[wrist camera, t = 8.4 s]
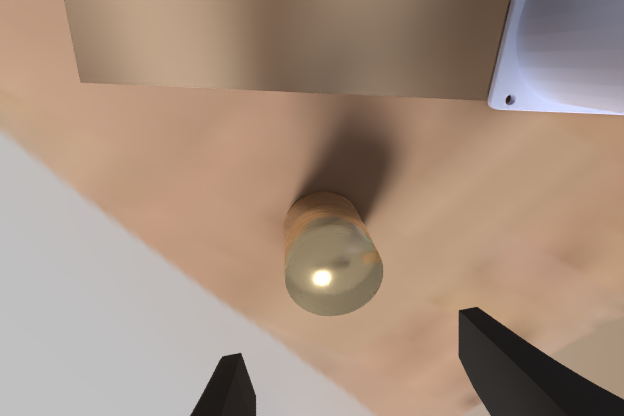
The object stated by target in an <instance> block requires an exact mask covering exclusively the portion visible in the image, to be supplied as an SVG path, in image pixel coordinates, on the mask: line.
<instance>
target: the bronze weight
mask: <svg viewBox="0 0 624 416" xmlns="http://www.w3.org/2000/svg"><path fill="white" fill-rule="evenodd" d="M284 245H285V283H286V287H287V290H288V293H289V294H290V296H291V298H292V299H293V300H294V302H296V303H297V304H298V305H299V306H300V307H302V308H303V309H305V310H307V311H308V312H311V313H314V314H317V315H323V316H338V315H343V314H347V313H350V312H353V311H355V310H357V309H359V308H361V307H362V306H363V305H365V304H366V303H367V302H369V301H370V300H371V299H372V297H373V296H374V295H375V294H376V292H377V291H378V289H379V287H380V284H381V282H382V278H383V264H382V260H381V258H380V255H379V253H378V251H377V249H376V247H375V245H374V243H373V242H372V240H371V238H370V236H369V234H368V232H367V230H366V228H365V226H364V224H363V222H362V220H361V218H360V216H359V214H358V212H357V210H356V209H355V207H354V205H353V204H352V203H351V202H350V201H349V200H348V199H346V198H345V197H343V196H341V195H339V194H336V193H333V192H325V191H324V192H315V193H311V194H308V195H306V196H304V197H302V198H301V199H299V200H298V201H297V202H296V203H295V204H294V205H293V206H292V207H291V208H290V210H289V212H288V213H287V216H286V218H285V223H284Z"/></svg>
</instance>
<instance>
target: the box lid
mask: <svg viewBox="0 0 624 416" xmlns="http://www.w3.org/2000/svg"><path fill="white" fill-rule="evenodd" d="M64 2H65V7H66V12H67V17H68V22H69V27H70V32H71V37H72V42H73V47H74V52H75V57H76V62H77V67H78V72H79V77H80V82H81V83H104V84H126V85H149V86H171V87H194V88H216V89H239V90H261V91H284V92H306V93H329V94H351V95H374V96H396V97H419V98H441V99H464V100H486V98H487V94H488V89H489V85H490V81H491V77H492V72H493V68H494V64H495V60H496V55H497V51H498V47H499V43H500V38H501V34H502V30H503V26H504V21H505V17H506V13H507V9H508V4H509V0H64Z"/></svg>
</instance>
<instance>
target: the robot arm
mask: <svg viewBox="0 0 624 416" xmlns="http://www.w3.org/2000/svg"><path fill="white" fill-rule="evenodd" d="M509 95H510V96H511V100H510V102H509V103H508V104H506V102H505V100H506V98H507V96H509ZM488 105H489V106H490V107H491V108H493V109H498V110H520V111H544V112H567V113H591V114H615V115H624V0H511V3H510V7H509V11H508V15H507V20H506V24H505V28H504V32H503V37H502V41H501V45H500V49H499V53H498V58H497V62H496V66H495V70H494V75H493V79H492V83H491V87H490V91H489V96H488ZM459 358H460V360H461V363H462V365H463V367H464V369H465V371H466V373H467V375H468V377H469V379H470V381H471V383H472V385H473V387H474V389H475V391H476V392H477V394H478V396H479V397H480V399H481V400H482V402H483V404H484V405H485V407H486V409H487V410H488V412H489V413H490V415H491V416H624V400H623V399H622V398H620V397H618V396H616V395H614V394H612V393H611V392H609V391H607V390H605V389H603V388H601V387H599V386H598V385H596V384H594V383H592V382H590V381H589V380H587V379H585V378H584V377H582V376H580V375H578V374H577V373H575V372H573V371H572V370H570V369H569V368H567V367H565V366H564V365H562V364H560V363H559V362H557V361H556V360H554V359H553V358H551V357H549V356H548V355H546V354H545V353H543V352H542V351H540V350H539V349H537V348H536V347H534V346H533V345H531V344H530V343H528V342H527V341H525V340H524V339H522V338H521V337H519V336H518V335H517V334H515V333H514V332H512V331H511V330H509V329H508V328H506V327H505V326H504V325H502V324H501V323H499V322H498V321H497V320H495V319H494V318H492V317H491V316H489V315H488V314H487V313H485V312H484V311H482V310H481V309H479V308H478V307H474V308H469V309H464V310H459ZM190 416H256V395H255V392H254V389H253V386H252V383H251V380H250V377H249V375H248V372H247V369H246V366H245V363H244V360H243V357H242V354H241V353H238V354H233V355H228V356H223V357H222V358H221V359H220V361H219V363H218V365H217V367H216V369H215V371H214V373H213V375H212V377H211V379H210V381H209V382H208V384H207V386H206V388H205V390H204V392H203V394H202V396H201V397H200V399H199V401H198V403H197V405H196V406H195V408H194V410H193V412H192V414H191V415H190Z"/></svg>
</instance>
